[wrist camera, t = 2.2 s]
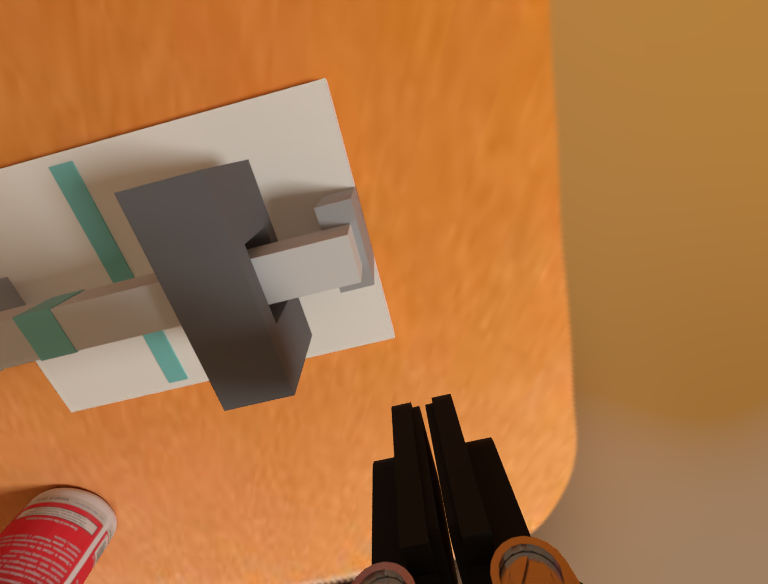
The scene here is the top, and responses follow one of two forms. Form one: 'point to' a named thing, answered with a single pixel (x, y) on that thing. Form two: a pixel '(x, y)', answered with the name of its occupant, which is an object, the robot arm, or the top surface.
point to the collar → (221, 279)
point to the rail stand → (132, 269)
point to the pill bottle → (56, 538)
